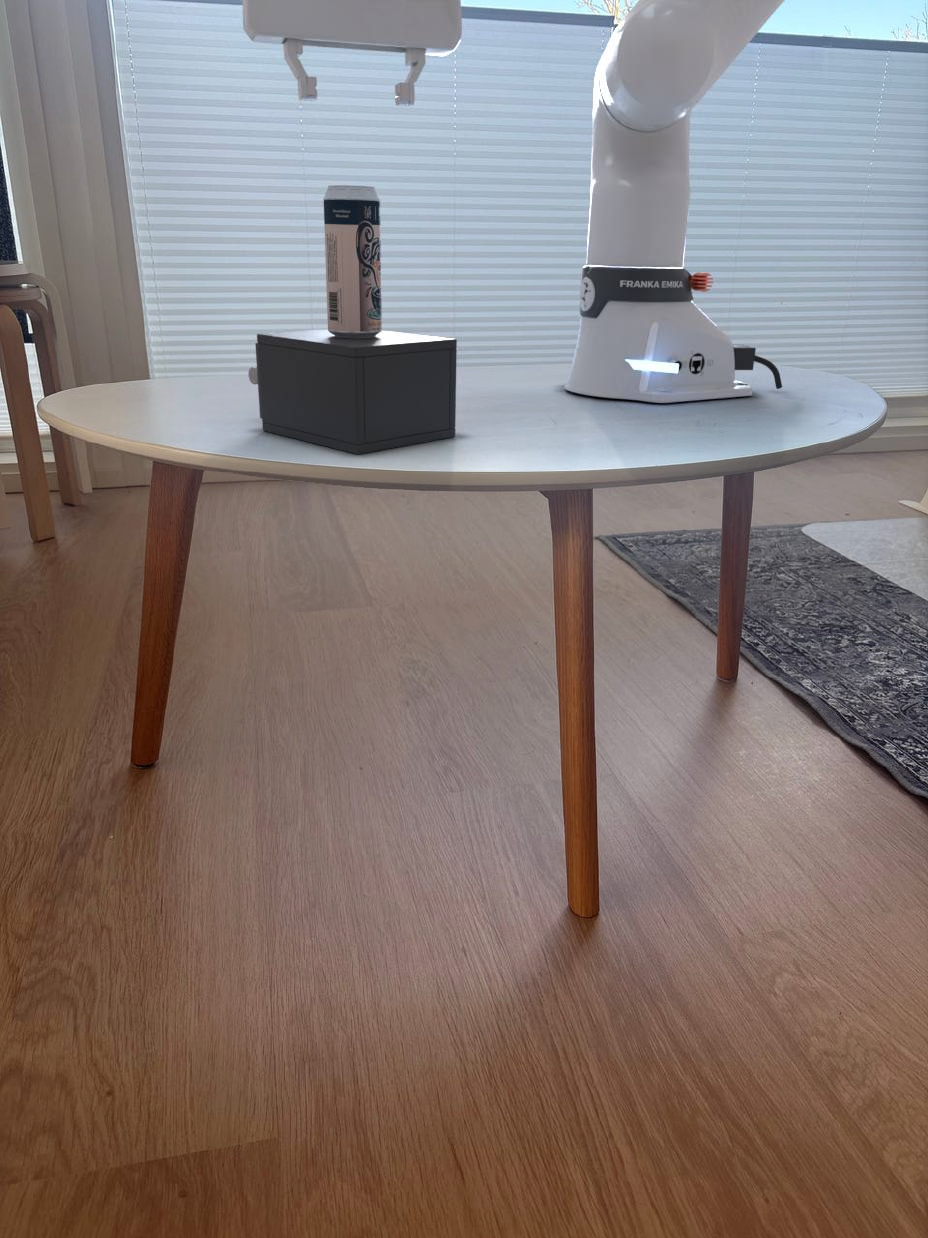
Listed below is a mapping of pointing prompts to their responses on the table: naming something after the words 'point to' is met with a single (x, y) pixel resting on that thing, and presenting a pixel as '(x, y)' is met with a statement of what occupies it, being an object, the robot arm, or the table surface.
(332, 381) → the dark grey storage box
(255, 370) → the drawer
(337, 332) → the beer can
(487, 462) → the table surface
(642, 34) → the robot arm
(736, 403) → the table surface
